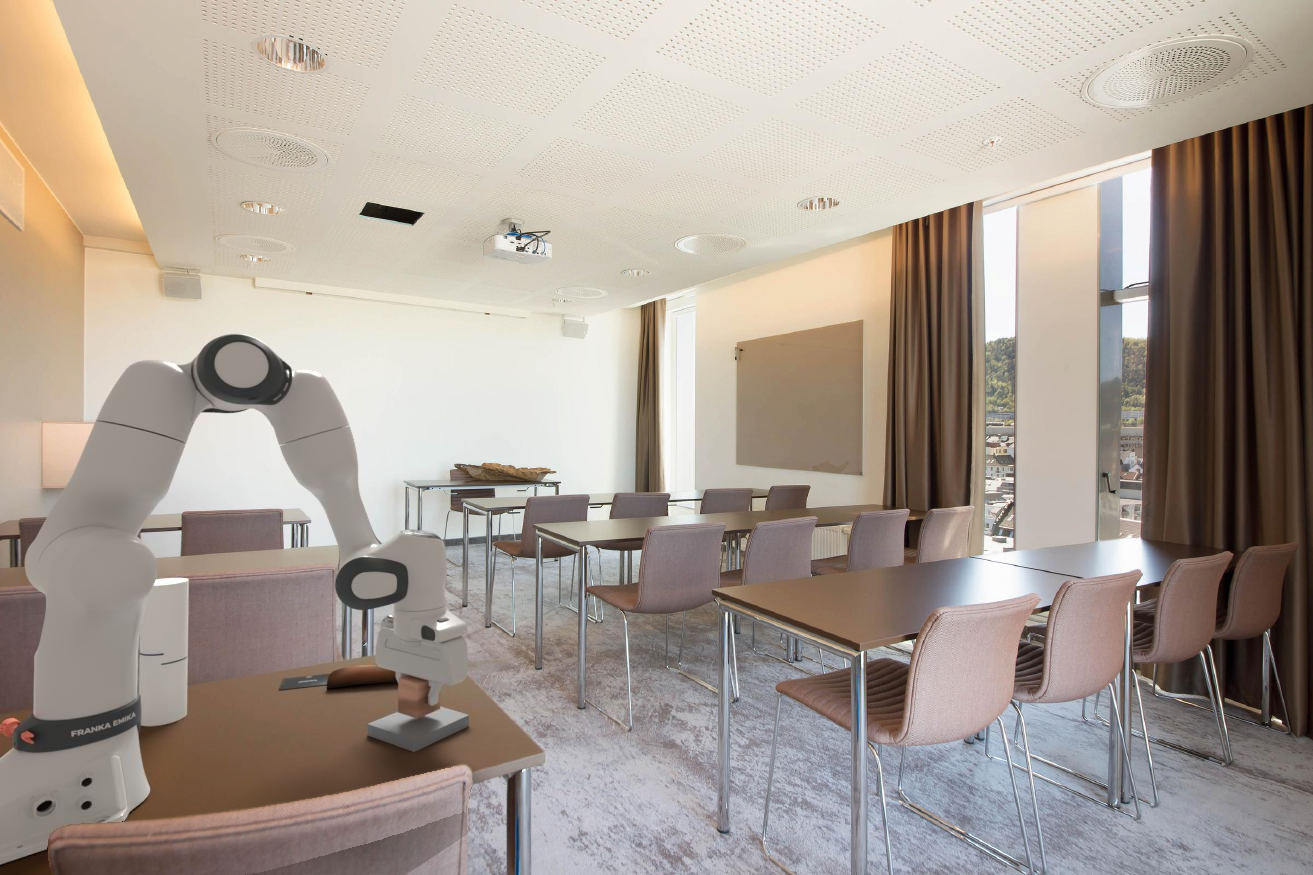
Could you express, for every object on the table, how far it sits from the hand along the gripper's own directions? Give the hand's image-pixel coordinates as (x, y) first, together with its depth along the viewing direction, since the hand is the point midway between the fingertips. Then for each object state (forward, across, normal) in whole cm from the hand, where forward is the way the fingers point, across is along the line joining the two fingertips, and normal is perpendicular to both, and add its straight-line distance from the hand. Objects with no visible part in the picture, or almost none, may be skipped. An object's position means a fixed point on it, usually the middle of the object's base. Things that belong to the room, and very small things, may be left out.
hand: (419, 700), depth 119 cm
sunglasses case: (+6, -28, +12) cm, 31 cm away
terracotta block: (+2, 0, 0) cm, 2 cm away
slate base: (+5, 0, 0) cm, 5 cm away
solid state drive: (+6, -39, +4) cm, 40 cm away
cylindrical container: (+6, -44, -21) cm, 49 cm away
